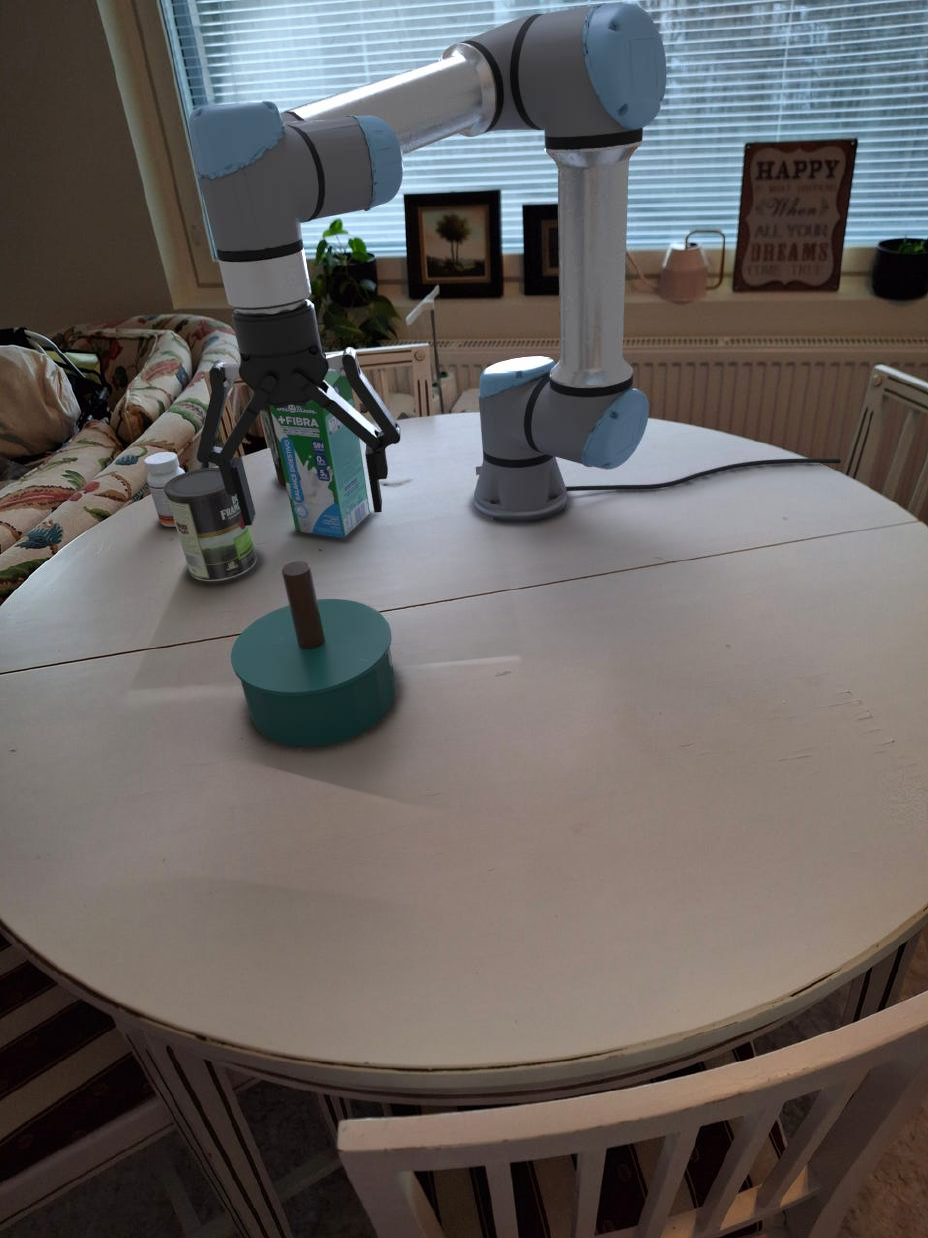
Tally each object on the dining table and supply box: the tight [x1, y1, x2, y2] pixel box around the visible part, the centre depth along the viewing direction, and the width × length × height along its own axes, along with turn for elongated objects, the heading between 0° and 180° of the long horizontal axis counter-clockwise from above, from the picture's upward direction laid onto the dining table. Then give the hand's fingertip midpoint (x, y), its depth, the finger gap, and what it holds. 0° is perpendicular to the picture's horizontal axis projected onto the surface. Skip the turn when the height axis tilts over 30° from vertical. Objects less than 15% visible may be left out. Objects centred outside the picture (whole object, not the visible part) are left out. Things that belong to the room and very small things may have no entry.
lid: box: [230, 560, 392, 696], centre depth 87 cm, size 18×18×11 cm
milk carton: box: [270, 368, 371, 538], centre depth 124 cm, size 9×9×25 cm
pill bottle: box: [143, 451, 186, 528], centre depth 134 cm, size 6×6×11 cm
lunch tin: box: [240, 647, 396, 748], centre depth 92 cm, size 17×17×8 cm
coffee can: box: [164, 467, 257, 582], centre depth 118 cm, size 10×10×14 cm
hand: (314, 513), depth 85 cm, fingers open, 13 cm apart
